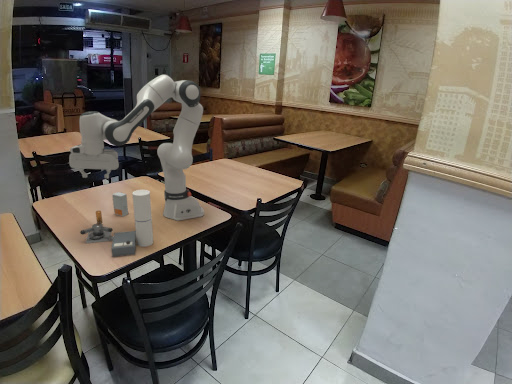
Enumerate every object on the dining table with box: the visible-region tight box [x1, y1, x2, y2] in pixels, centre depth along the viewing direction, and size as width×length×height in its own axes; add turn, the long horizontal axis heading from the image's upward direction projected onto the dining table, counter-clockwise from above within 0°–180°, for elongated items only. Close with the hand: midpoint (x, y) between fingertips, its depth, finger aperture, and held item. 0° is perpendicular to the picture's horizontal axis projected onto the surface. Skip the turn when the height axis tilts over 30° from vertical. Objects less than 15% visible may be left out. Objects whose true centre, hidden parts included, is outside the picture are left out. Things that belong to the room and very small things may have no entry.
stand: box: [84, 230, 137, 258], centre depth 137 cm, size 22×24×6 cm
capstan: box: [79, 210, 113, 240], centre depth 142 cm, size 13×12×10 cm
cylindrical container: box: [132, 189, 154, 248], centre depth 135 cm, size 7×7×25 cm
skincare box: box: [111, 191, 129, 217], centre depth 163 cm, size 6×4×12 cm
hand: (96, 177), depth 140 cm, fingers open, 8 cm apart
